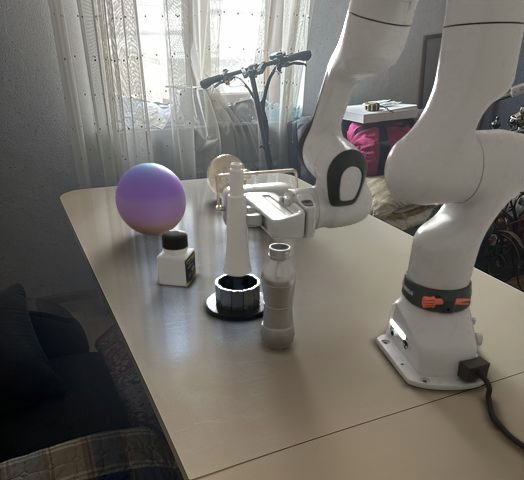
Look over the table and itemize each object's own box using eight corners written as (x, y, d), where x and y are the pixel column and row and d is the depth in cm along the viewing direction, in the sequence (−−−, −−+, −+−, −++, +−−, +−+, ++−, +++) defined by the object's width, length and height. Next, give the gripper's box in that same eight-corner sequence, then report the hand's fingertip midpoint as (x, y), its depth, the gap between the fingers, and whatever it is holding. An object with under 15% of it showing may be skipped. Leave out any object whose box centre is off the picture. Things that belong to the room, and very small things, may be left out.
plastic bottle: (283, 356, 96) (287, 256, 86) (253, 346, 99) (253, 248, 89) (300, 341, 101) (305, 245, 90) (270, 332, 104) (272, 237, 93)
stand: (270, 321, 108) (271, 296, 105) (204, 321, 108) (202, 296, 104) (268, 292, 120) (269, 268, 116) (208, 292, 119) (207, 268, 116)
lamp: (194, 224, 185) (222, 232, 149) (186, 157, 178) (214, 148, 141) (264, 216, 193) (307, 222, 156) (259, 152, 185) (304, 143, 149)
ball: (116, 226, 158) (107, 158, 147) (181, 220, 164) (175, 154, 153) (124, 249, 142) (114, 175, 131) (195, 241, 148) (190, 169, 137)
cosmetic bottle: (257, 272, 108) (258, 164, 97) (234, 279, 105) (232, 168, 93) (240, 263, 112) (239, 158, 101) (217, 269, 109) (214, 162, 97)
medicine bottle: (187, 287, 122) (183, 238, 115) (158, 284, 123) (153, 236, 116) (196, 275, 128) (193, 228, 121) (169, 272, 129) (164, 226, 122)
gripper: (279, 182, 114) (219, 188, 110) (318, 209, 98) (250, 217, 94) (278, 210, 117) (220, 217, 113) (316, 241, 101) (250, 249, 97)
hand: (234, 217), depth 103 cm, fingers closed on cosmetic bottle
